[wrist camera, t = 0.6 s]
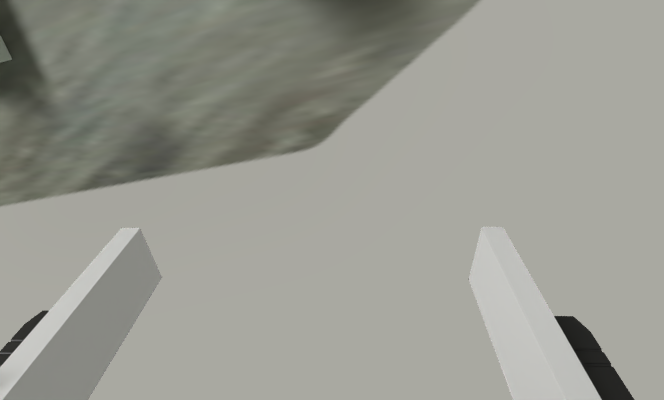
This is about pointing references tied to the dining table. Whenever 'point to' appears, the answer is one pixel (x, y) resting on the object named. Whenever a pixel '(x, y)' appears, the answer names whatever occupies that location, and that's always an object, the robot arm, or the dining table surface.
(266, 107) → the dining table surface
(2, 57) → the switch unit
